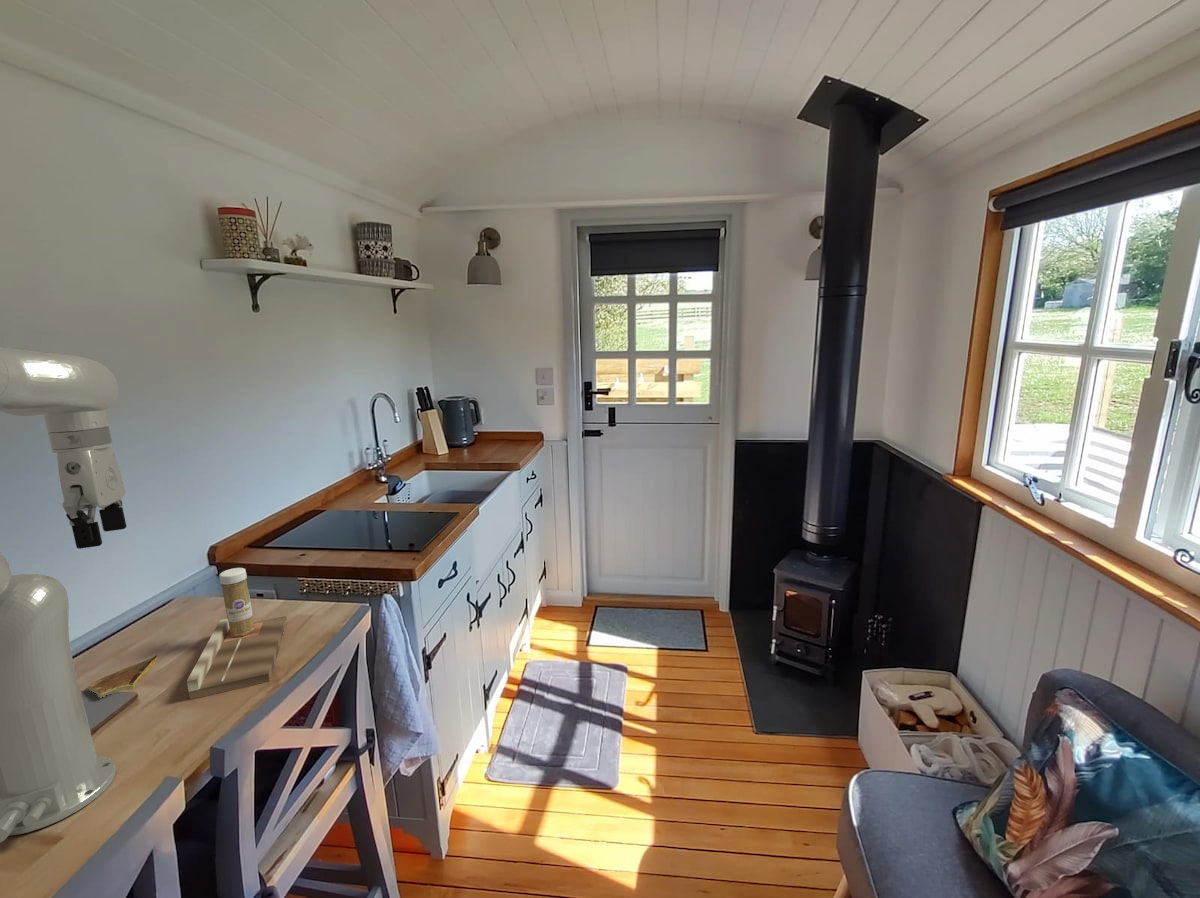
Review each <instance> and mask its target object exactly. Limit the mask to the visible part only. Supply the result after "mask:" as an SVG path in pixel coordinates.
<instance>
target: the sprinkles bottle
mask: <svg viewBox="0 0 1200 898" xmlns="http://www.w3.org/2000/svg"><path fill="white" fill-rule="evenodd" d="M247 576H248V575H247V571H246V568H243V567H234V568H230V569H226V570H223V571H222V572H221V573H219V582H220V585H221V588H222V593H223V594H222V595H223V602H224V608H225V613H226V619H228V622H229V628H230V636H232V637H240V636H245V635H247V634H250V633H251V632H253V631H254V630H255V625H254V622H255V621H254V616H253V614H254V613H253V609H252V608H253V607H252V603H251V602H252V601H251V596H250V592H249V588H248V581H247V578H248V577H247Z"/></svg>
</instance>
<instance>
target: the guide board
mask: <svg viewBox="0 0 1200 898" xmlns="http://www.w3.org/2000/svg"><path fill="white" fill-rule="evenodd" d="M286 620H287V621H288V619H287V616H286V615H285V616H280V617H274V618H270V619H265V620H260V621H259V620H258V621H254V625H255V630H254V631H253V632H251V633H250V634H247V635H245V636H240V637H232V636H230V628H229V622H228V619H227V618H223V619H219V621H218V623H217V625H216V627H215V629H214V630H213V632H212V634H211V636H210V638H209V639H208V641H207V643H206V645H205V647H204V648H203V651H202V652H201V654H200V656H199V657H198V660H197V661H196V664H195V666H194V667H193V669H192V670H191V673H190V675H189V676H188V678H187V679H186V684H187V689H188V695H189V699H190V700H194V699H199V698H204V697H207V696H211V695H216V694H220V693H224V692H228V691H234V690H236V689H242V688H245V687H247V688H248V687H251V686H254V685H258V684H259V685H260V684H263V683H268V682H270V681H271V677H272V674H273V671H274V669H275V664H276V660H277V657H278V654H279V651H280V648H281V645H280V644H282V641H283V638H282V636H283V637H284V634H283V632H284V633H285V631H284V628H285V624H286ZM286 625H287V624H286ZM285 629H286V628H285ZM281 640H282V641H281Z"/></svg>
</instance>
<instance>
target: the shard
mask: <svg viewBox="0 0 1200 898" xmlns="http://www.w3.org/2000/svg"><path fill="white" fill-rule="evenodd" d="M158 656H159V655H157V654H156V655H155V656H154V657H151V658H148V659H145V660H143V661H141V662H139V663H136V664H132V665H131V666H128V667H126V668H123V669H121V670H117V671H116V672H113V673H111V674H110V675H107V676H104V677H102V678H100V679H98V680H96V681H93V682H91V683H90V684H89V685H88V686H87V689H88V691H89V692H91V691H92V692H91V693H93V692H94V693H97V694H98V695H99V696H101V697H102V696H104V695H106V694H108V693H115V692H119V693H122V692H126V691H130V690H131V691H132V690H133V689H134V688H135V686H136V685H137V683H138V682H139V681H140V680H141V679H142V678H143V677H144V676H145V675H146V674H147V673H148V672H149V671H150V670H151V669H152V668H153V667H154V666H155V664H156V660H157V658H158ZM94 693H93V694H94Z"/></svg>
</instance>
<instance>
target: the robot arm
mask: <svg viewBox="0 0 1200 898" xmlns="http://www.w3.org/2000/svg"><path fill="white" fill-rule="evenodd" d="M118 396H119V385H118V381H117V378H116V377H115V375H114V373H112V371H111V370H110V369H109V368H108V367H107V366H105V365H104V364H103V363H100V362H98V361H96V360H93V359H90V358H87V357H84V356H79V355H74V354H65V353H59V352H58V353H55V352H44V351H37V350H27V349H21V348H14V347H3V346H0V412H2V413H5V414H8V415H12V416H18V417H35V416H43V417H44V421H45V426H46V429H47V434H48V439H49V443H50V447H51V452H52V453H54V454H56V456H57V457H56V458H57V460H56V461H57V466H58V467H57V468H58V476H59V481H60V488H61V493H62V497H63V502H62V507H63V509H64V511H65V513H66V515H65V516H66V517H67V519H68V521H69V522H68V523H69V525H70V526H71V529H72V534H73V537H74V542H75V546H76V549H79V550H80V549H86V548H87V549H88V548H94V547H100V546H101V545H102V544H103V540H102V536H101V531H100V525H99V522H98V521H95V519H96V518H95V517H96V511H97V507H98V508H100V509H99V510H98V512H99V517H100V520H101V521H100V522H101V526H102V530H103V532H113V531H120V530H125V529H127V522H126V518H125V517H126V516H125V513H124V508H123V501H122V498H123V497H125V495H126V491H125V485H124V482H123V478H122V474H121V471H120V467H119V465H118V461H117V457H116V455H115V452H114V450H113V447H112V446H113V445H114V443H113V439H112V434H111V430H110V425H109V421H108V416H107V411H106V410H107V409H110V408H111V407H112V406H114V404H115V403H116V401H117V400H118ZM86 512H87V514H86ZM11 573H12V572H11V567H10V564H9V562H8V560H7V559H6V557H5V555H3V554H2V553H1V551H0V843H2V842H4V841H5V840H6V839H7V838H8V837H9V836H17V835H22V834H27V833H30V832H31V833H32V832H33V831H37V830H39V829H43V828H45V827H47V826H50V825H53V824H55V823H57V822H59V821H62V820H63V819H65V818H68V817H69V816H71V815H73V814H74V813H76V812H79V811H80V810H81V809H83V808H84V807H86V806H87V805H89V804H90V803H91V802H92V801H94V800H95V799H97V798H98V797H99V796H100V795H101V794H103V792H104V791H105V790H106V789H107V788H108V787H109V786H110V785H111V783H112V782H113V780H114V779H115V776H116V774H117V773H116V772H117V771H116V765H115V763H114V761H113V760H112V759H111V758H109V757H106V756H100V755H97V753H96V748H95V744H94V740H93V735H92V733H91V728H90V724H89V721H88V716H87V712H86V709H85V704H84V700H83V695H82V691H81V689H80V685H79V680H78V676H77V673H76V670H75V668H76V667H75V665H74V659H73V656H72V650H71V648H72V647H71V643H70V632H69V629H70V627H69V615H70V614H69V608H70V607H69V605H70V604H69V596H68V592H67V590H66V587H65V586H64V585H63V583H62V582H60V581H59V580H58V579H56V578H54V577H52V576H49V575H44V574H37V573H36V574H35V573H28V574H27V573H26V574H25V573H24V574H23V573H21V574H12V575H11Z"/></svg>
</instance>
